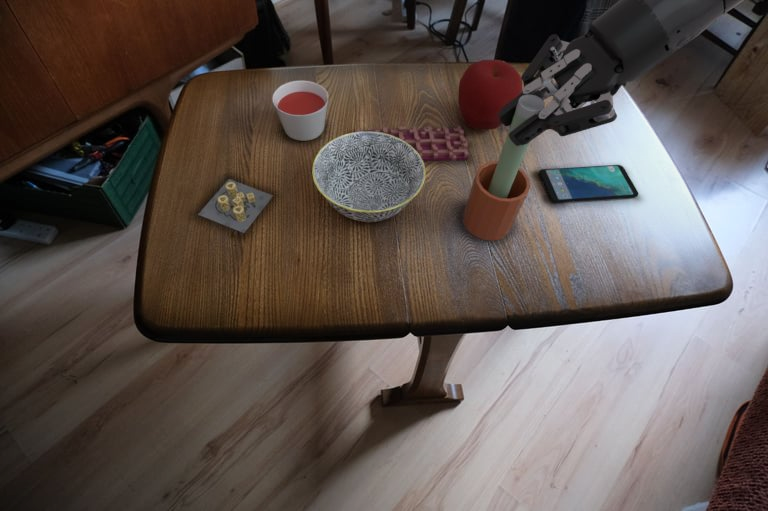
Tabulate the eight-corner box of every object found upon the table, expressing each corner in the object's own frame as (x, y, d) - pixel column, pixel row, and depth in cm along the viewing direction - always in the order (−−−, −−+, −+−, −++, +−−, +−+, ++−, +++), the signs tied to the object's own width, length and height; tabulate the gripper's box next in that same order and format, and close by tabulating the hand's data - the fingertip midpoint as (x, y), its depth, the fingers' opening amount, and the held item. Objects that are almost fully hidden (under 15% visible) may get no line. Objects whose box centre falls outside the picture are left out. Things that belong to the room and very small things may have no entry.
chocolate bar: (470, 160, 75) (473, 151, 73) (358, 163, 73) (359, 154, 71) (462, 131, 79) (464, 122, 77) (356, 134, 77) (356, 125, 75)
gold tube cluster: (242, 223, 65) (239, 214, 64) (213, 211, 66) (209, 202, 64) (261, 199, 68) (259, 191, 66) (232, 188, 69) (229, 180, 67)
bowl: (349, 153, 74) (349, 116, 68) (435, 189, 71) (443, 154, 65) (295, 217, 66) (289, 182, 60) (389, 261, 63) (393, 229, 56)
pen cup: (520, 224, 68) (541, 183, 60) (488, 249, 65) (505, 209, 57) (485, 195, 71) (500, 153, 63) (452, 218, 68) (464, 176, 60)
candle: (271, 119, 78) (264, 88, 73) (318, 106, 81) (316, 75, 75) (288, 152, 74) (283, 121, 68) (338, 137, 76) (337, 106, 71)
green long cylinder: (501, 223, 67) (549, 107, 49) (484, 227, 66) (527, 113, 49) (492, 209, 68) (536, 92, 51) (475, 213, 68) (514, 96, 50)
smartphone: (538, 168, 73) (622, 163, 75) (536, 172, 74) (620, 167, 76) (552, 201, 69) (640, 195, 71) (550, 204, 70) (638, 198, 72)
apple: (480, 152, 76) (497, 94, 66) (438, 119, 80) (449, 59, 71) (522, 128, 80) (545, 69, 70) (480, 97, 85) (496, 38, 75)
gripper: (607, -39, 46) (470, 78, 54) (688, 36, 38) (515, 159, 46) (626, 9, 51) (499, 109, 59) (701, 84, 43) (544, 186, 51)
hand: (507, 130), depth 52 cm, fingers closed on green long cylinder, 3 cm apart
